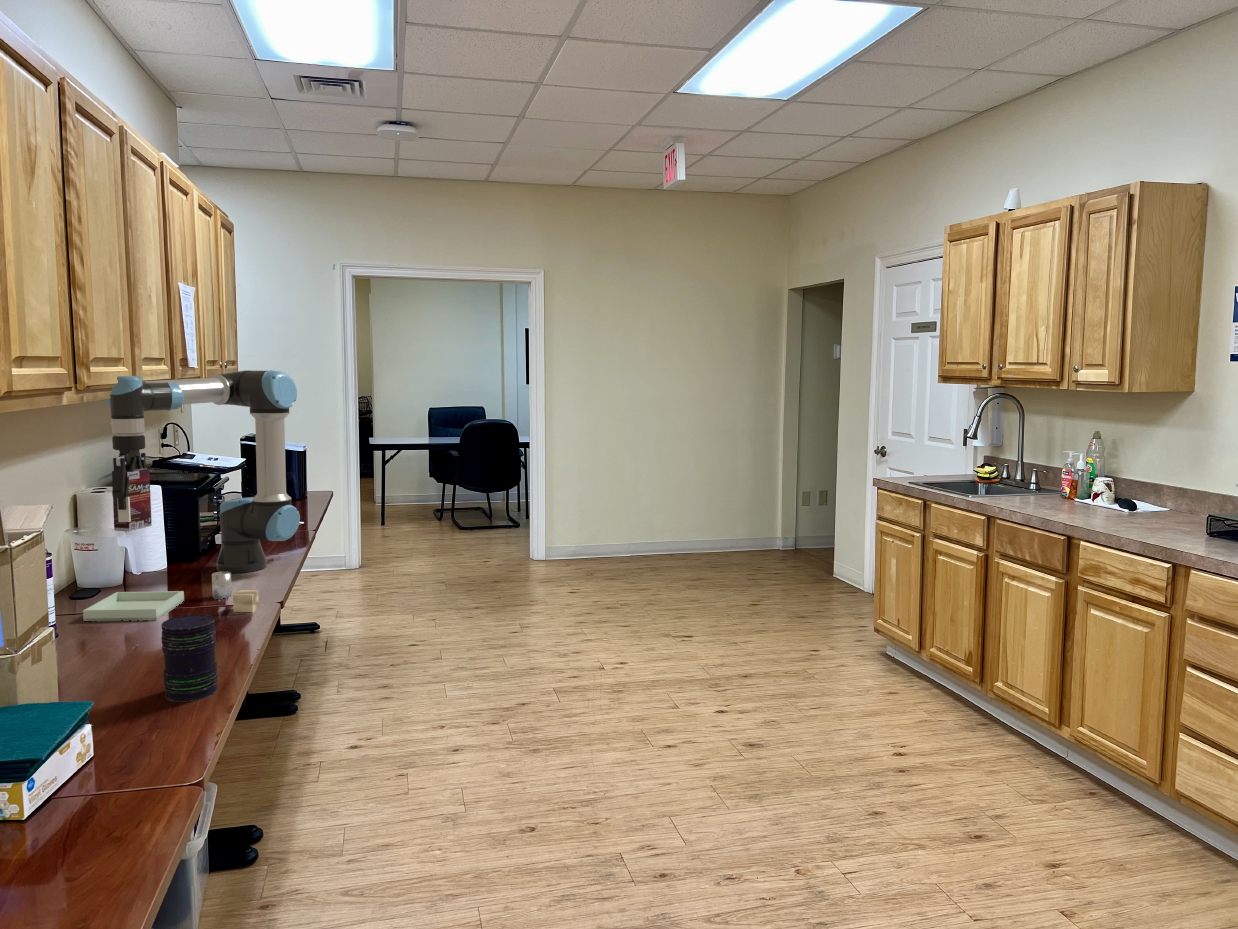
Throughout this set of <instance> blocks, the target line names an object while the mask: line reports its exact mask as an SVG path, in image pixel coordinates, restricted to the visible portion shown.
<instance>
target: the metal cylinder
mask: <svg viewBox="0 0 1238 929" xmlns="http://www.w3.org/2000/svg"><path fill="white" fill-rule="evenodd" d="M211 586H212V587H211V588H212V589H211V590H212V599H213V598H214V599H213V600H216V599H221V600H224V599H223V598H228V599H230V598H229V597H231V596H232V597H233V593H232V591H233V590H232V588H233V587H232V573H231V572H228V571H222V572H219V571H217V572H213V573H211ZM232 597H231V598H232Z"/></svg>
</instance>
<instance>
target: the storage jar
mask: <svg viewBox="0 0 1238 929" xmlns="http://www.w3.org/2000/svg"><path fill="white" fill-rule="evenodd" d="M215 622H216V621H215V617H214V616H212V615H208V614H190V615H181V616H177V617H173V618H169V619H167V620H164V621H163V622H162V623H161V626H160V627H161V630H162V631H161V645H162V647H161V650H162V652H163V656H164V659H163V660H164V669H163V675H162V676H163V686H164V691H165V692H164V698H165V699H166V700H167V701H170V702H177V703H183V702H187V703H188V702H193V701H194V702H195V701H200V700H202V699H206V698H208V697H212V696H213V695H215V693H217V692H218V688H219V687H218V685H217V683H218V677H219V676H218V663H217V662H216V652H215V647H216V645H217V640H216V637H217V632H216V625H215Z"/></svg>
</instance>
